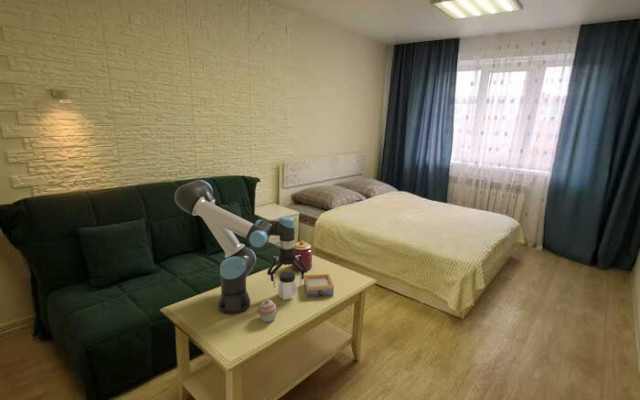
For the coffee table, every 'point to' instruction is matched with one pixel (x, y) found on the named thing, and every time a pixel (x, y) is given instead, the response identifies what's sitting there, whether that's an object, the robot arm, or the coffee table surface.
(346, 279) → the coffee table surface
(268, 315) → the cupcake
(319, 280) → the small square box
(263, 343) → the coffee table surface
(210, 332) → the coffee table surface
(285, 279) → the jar
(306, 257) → the canister
